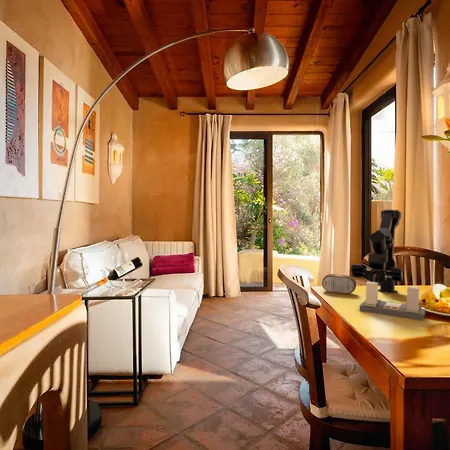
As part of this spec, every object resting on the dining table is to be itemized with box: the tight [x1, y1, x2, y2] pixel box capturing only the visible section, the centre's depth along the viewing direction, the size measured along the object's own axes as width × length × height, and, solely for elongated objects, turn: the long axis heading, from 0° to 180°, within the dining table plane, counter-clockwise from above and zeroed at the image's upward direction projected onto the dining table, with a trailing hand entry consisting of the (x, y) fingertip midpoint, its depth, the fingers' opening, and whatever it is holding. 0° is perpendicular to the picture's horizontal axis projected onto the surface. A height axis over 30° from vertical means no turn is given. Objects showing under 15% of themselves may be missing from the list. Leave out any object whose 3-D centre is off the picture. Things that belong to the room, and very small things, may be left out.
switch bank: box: [359, 299, 426, 322], centre depth 131 cm, size 12×21×2 cm, turn 56°
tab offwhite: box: [365, 280, 379, 305], centre depth 133 cm, size 3×4×8 cm
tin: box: [321, 273, 357, 295], centre depth 161 cm, size 15×3×8 cm, turn 65°
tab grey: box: [406, 285, 420, 311], centre depth 125 cm, size 3×4×8 cm
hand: (372, 289), depth 135 cm, fingers closed, pressing on tab offwhite
